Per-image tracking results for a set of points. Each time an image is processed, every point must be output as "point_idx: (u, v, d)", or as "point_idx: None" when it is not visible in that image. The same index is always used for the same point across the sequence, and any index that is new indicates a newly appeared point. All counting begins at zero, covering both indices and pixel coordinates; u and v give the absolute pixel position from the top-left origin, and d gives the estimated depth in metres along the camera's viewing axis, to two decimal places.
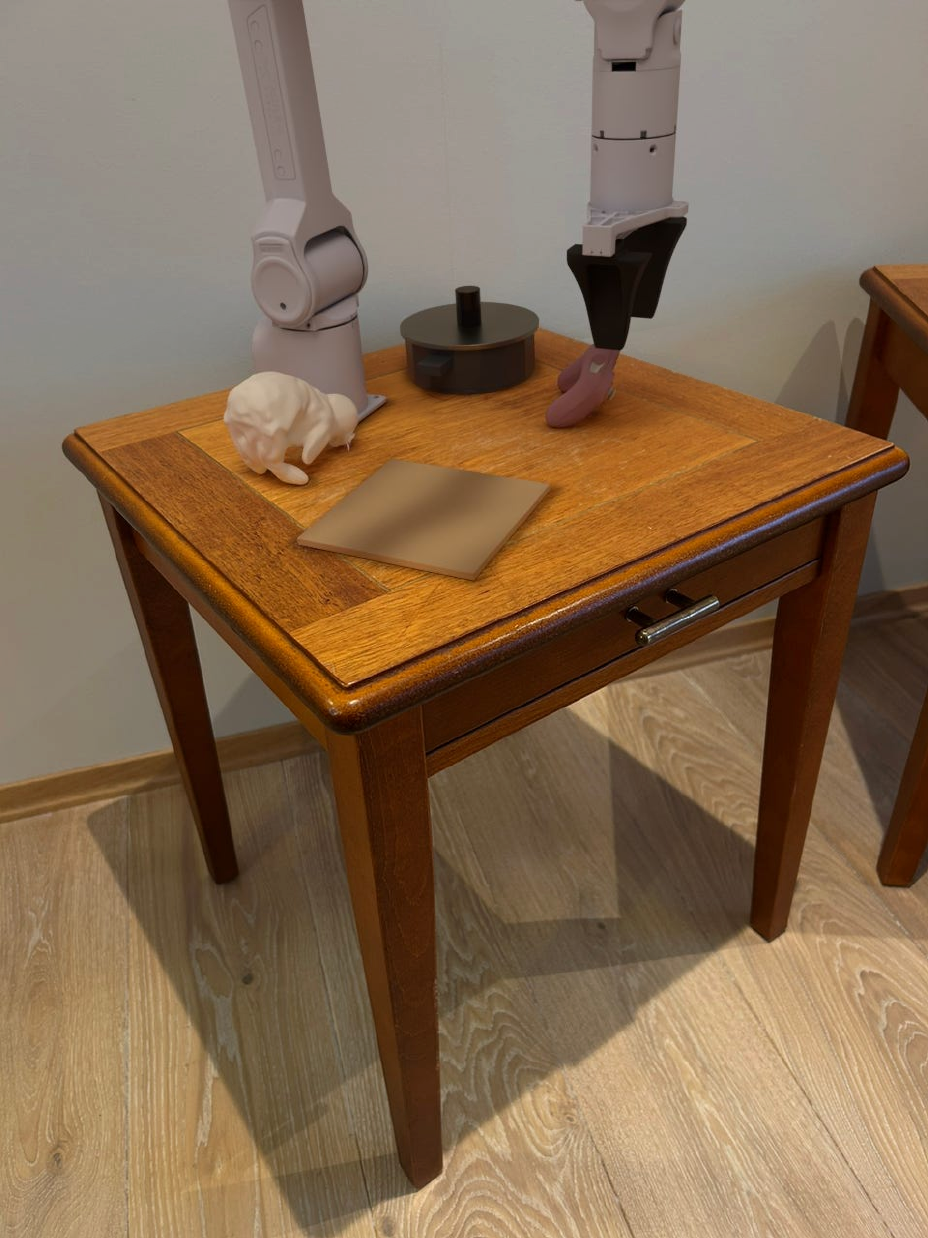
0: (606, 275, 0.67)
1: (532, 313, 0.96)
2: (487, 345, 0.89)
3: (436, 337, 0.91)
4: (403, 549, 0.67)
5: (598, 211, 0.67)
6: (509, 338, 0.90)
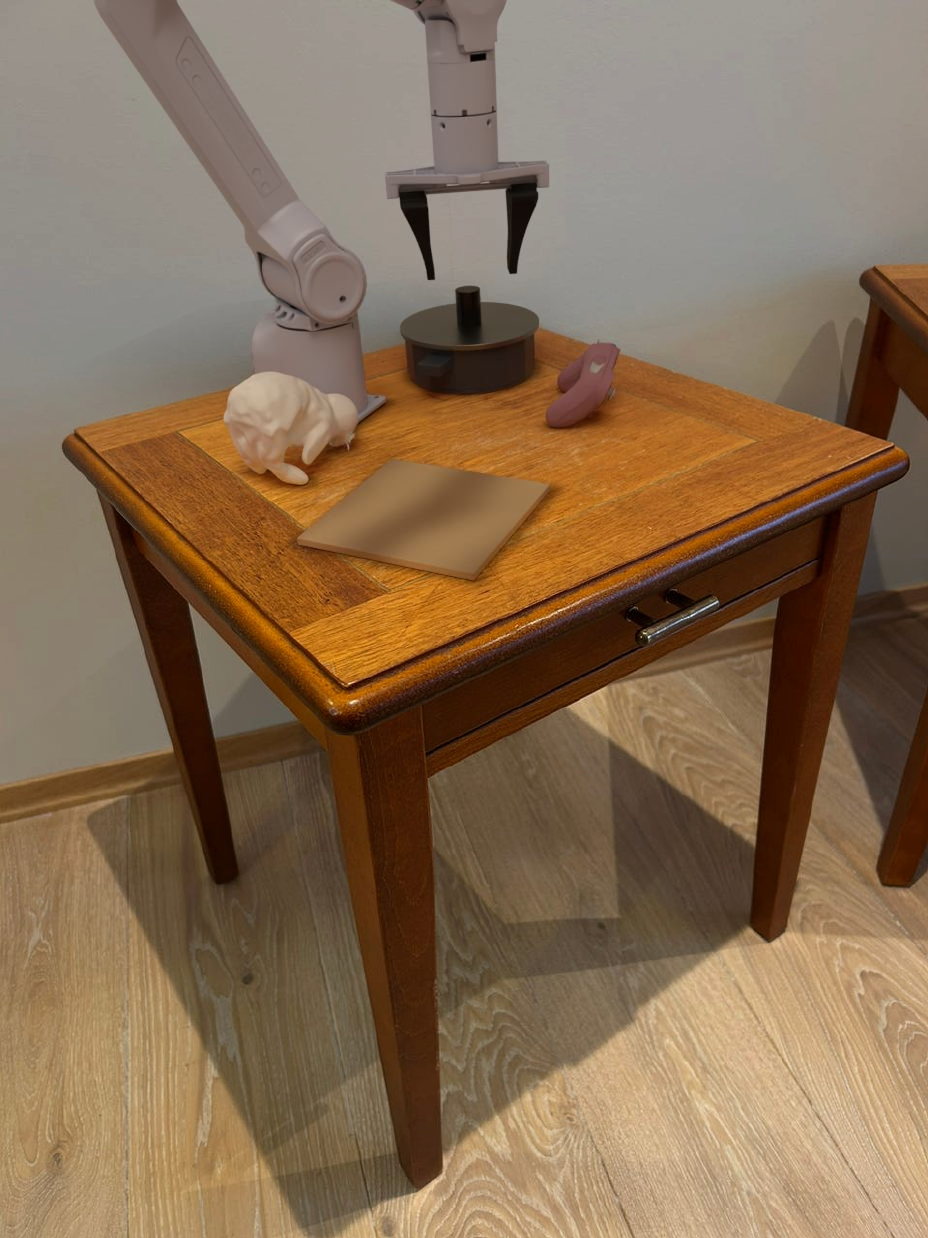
0: None
1: (532, 313, 0.96)
2: (487, 345, 0.89)
3: (436, 337, 0.91)
4: (403, 549, 0.67)
5: None
6: (509, 338, 0.90)
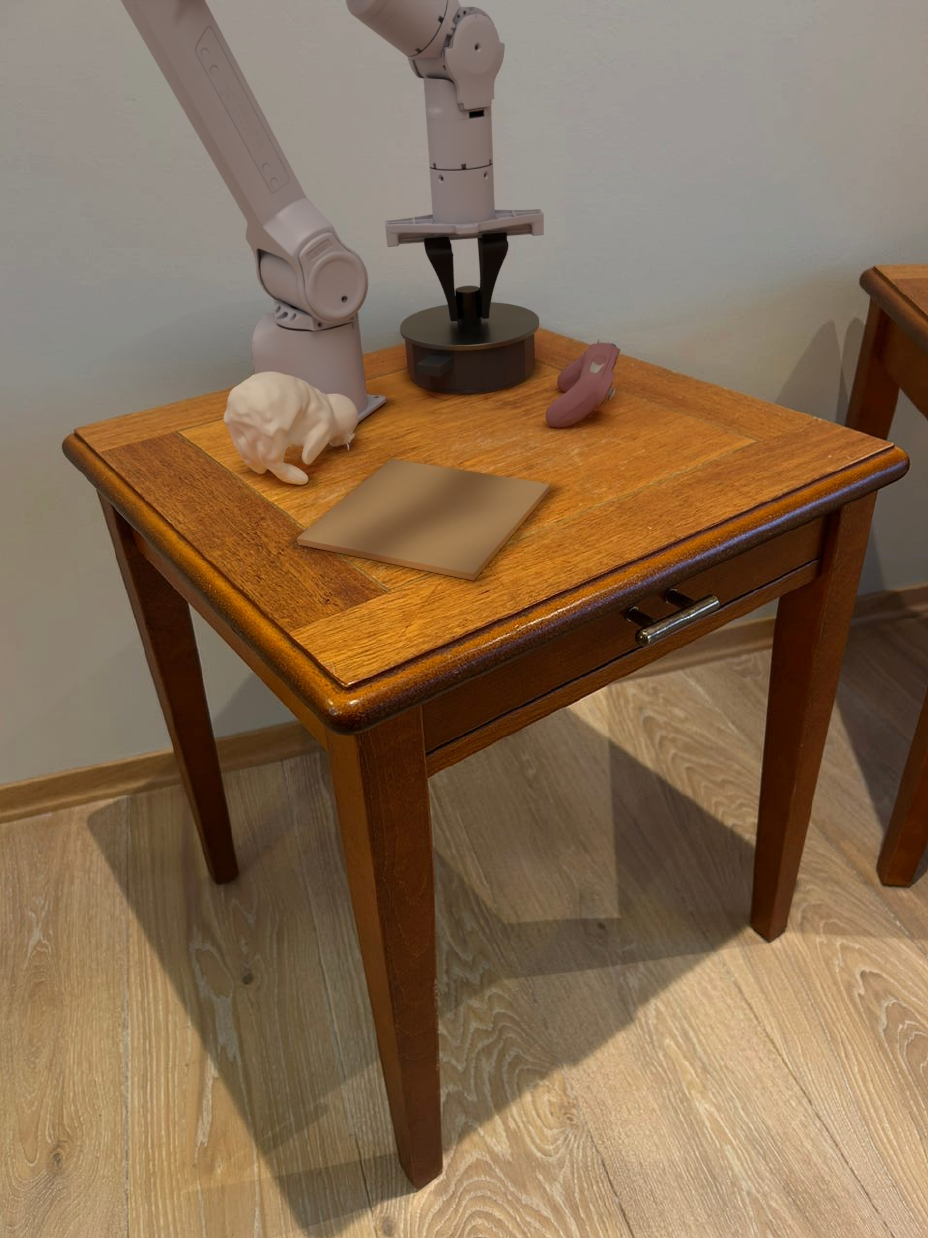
0: None
1: (532, 313, 0.96)
2: (487, 345, 0.89)
3: (436, 337, 0.91)
4: (403, 549, 0.67)
5: None
6: (509, 338, 0.90)
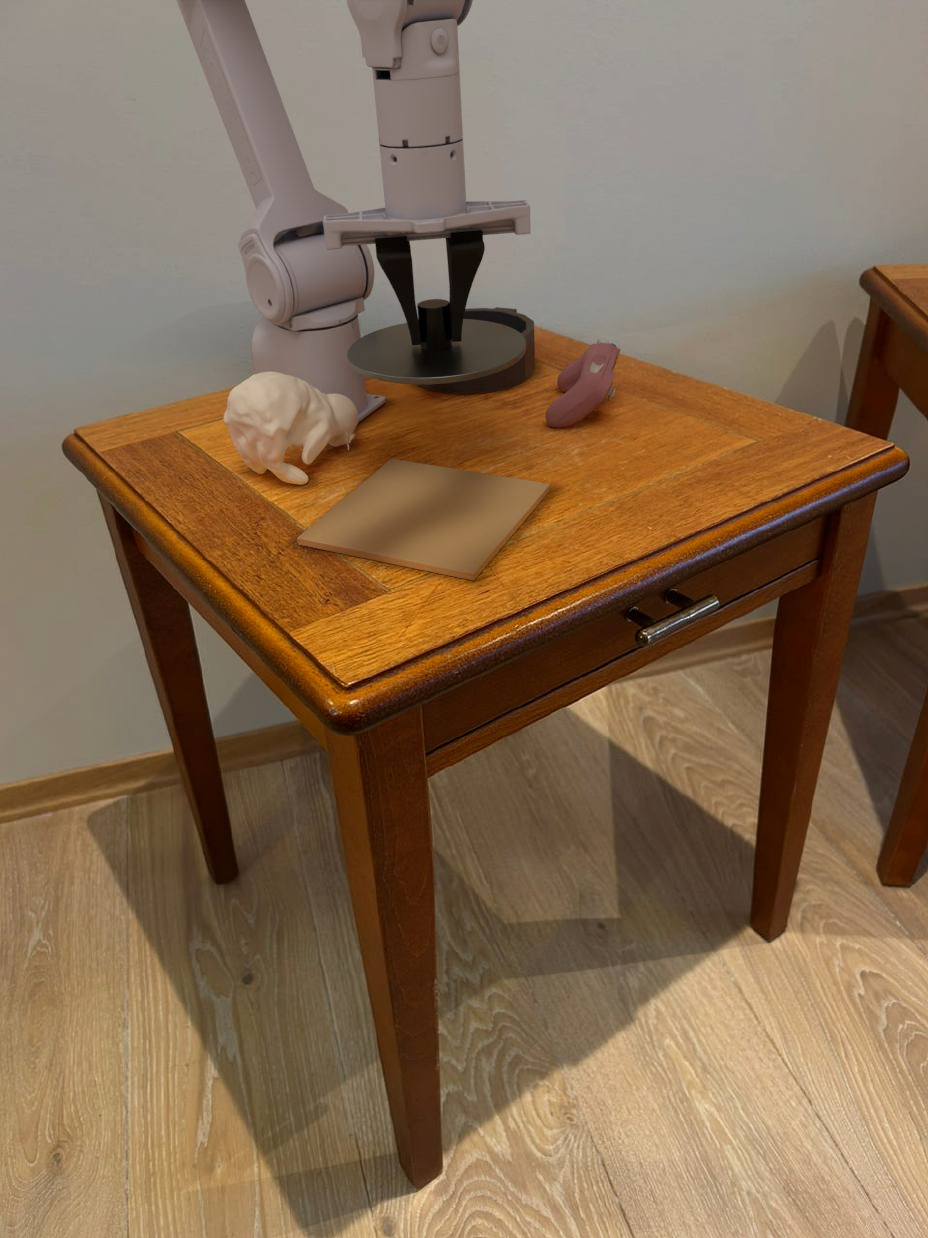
0: None
1: (517, 334, 0.75)
2: (457, 377, 0.68)
3: (392, 366, 0.70)
4: (403, 549, 0.67)
5: None
6: (486, 368, 0.69)
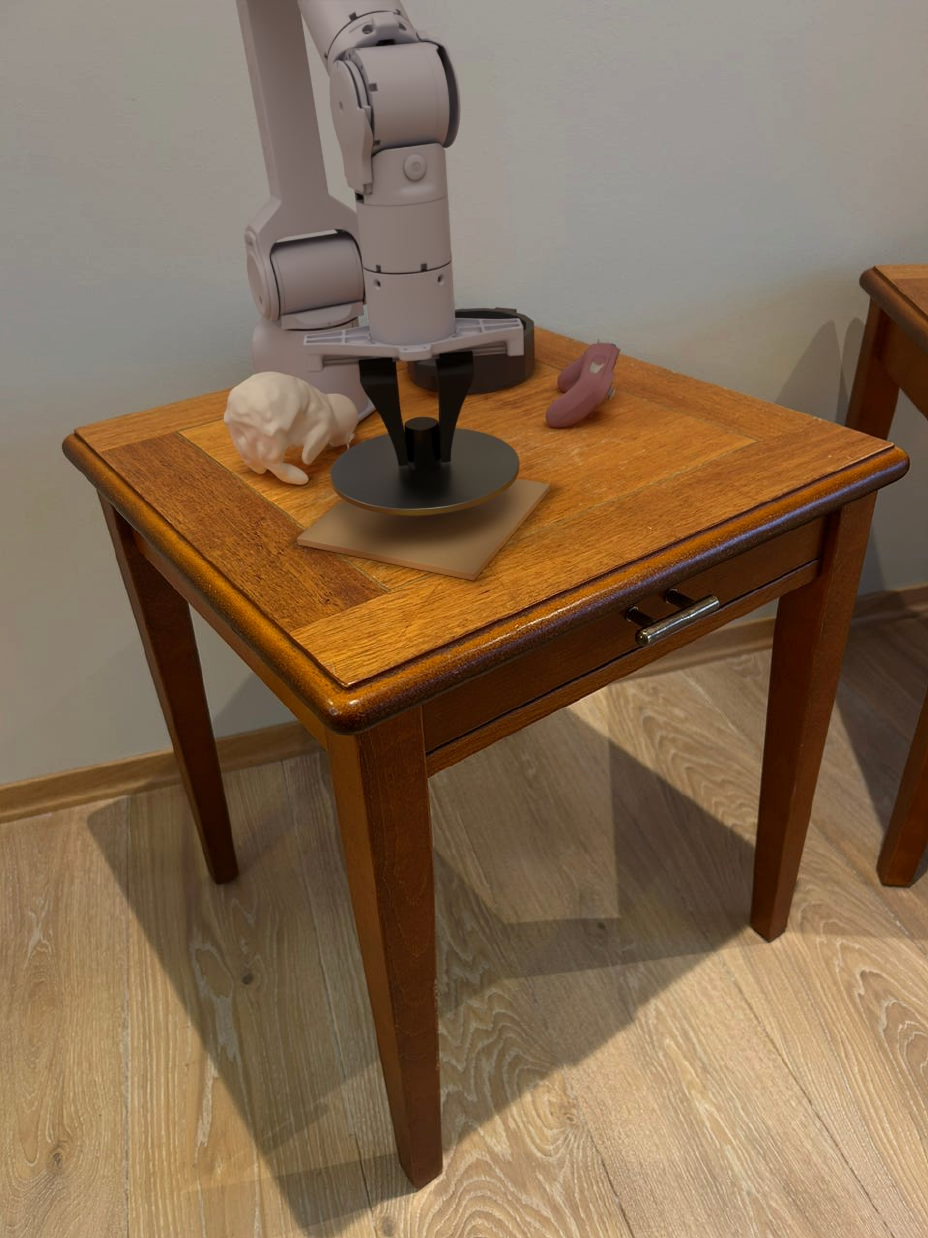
0: None
1: (510, 450, 0.71)
2: (445, 508, 0.64)
3: (377, 491, 0.66)
4: (403, 549, 0.67)
5: None
6: (475, 498, 0.65)
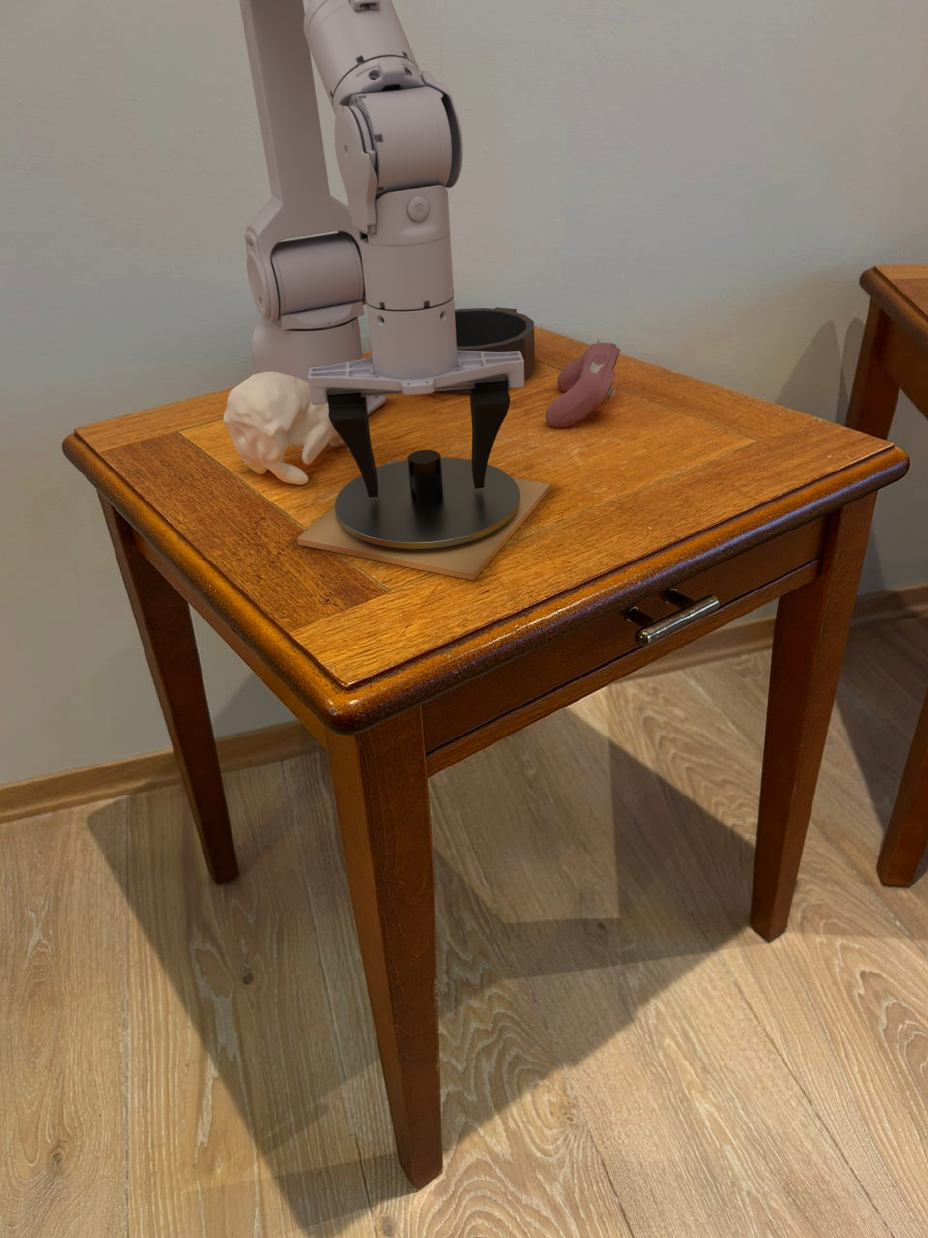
0: None
1: (511, 482, 0.72)
2: (448, 542, 0.66)
3: (380, 524, 0.68)
4: (403, 549, 0.67)
5: None
6: (477, 531, 0.66)
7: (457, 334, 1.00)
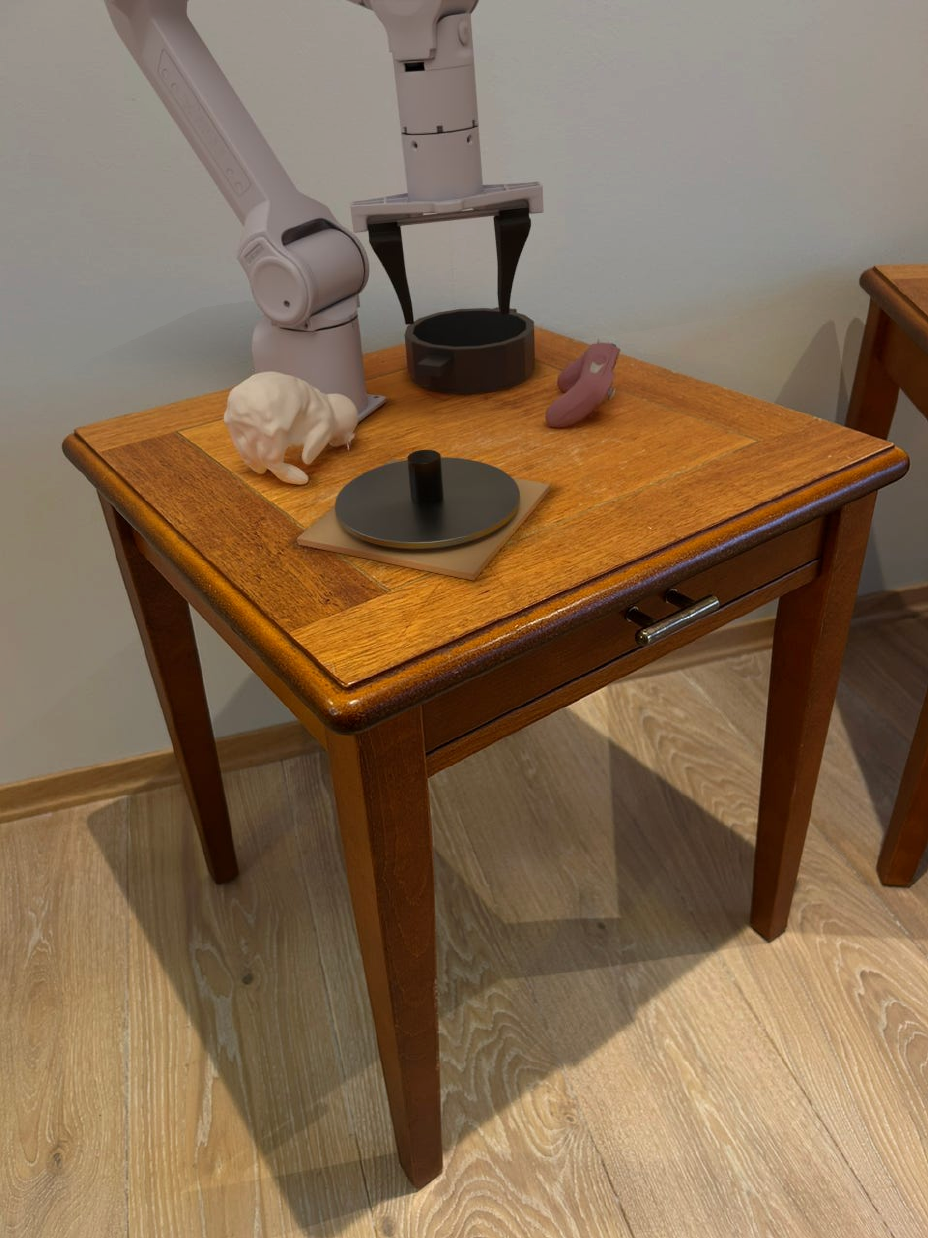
0: None
1: (511, 482, 0.72)
2: (448, 542, 0.66)
3: (380, 524, 0.68)
4: (403, 549, 0.67)
5: None
6: (477, 531, 0.66)
7: (457, 334, 1.00)
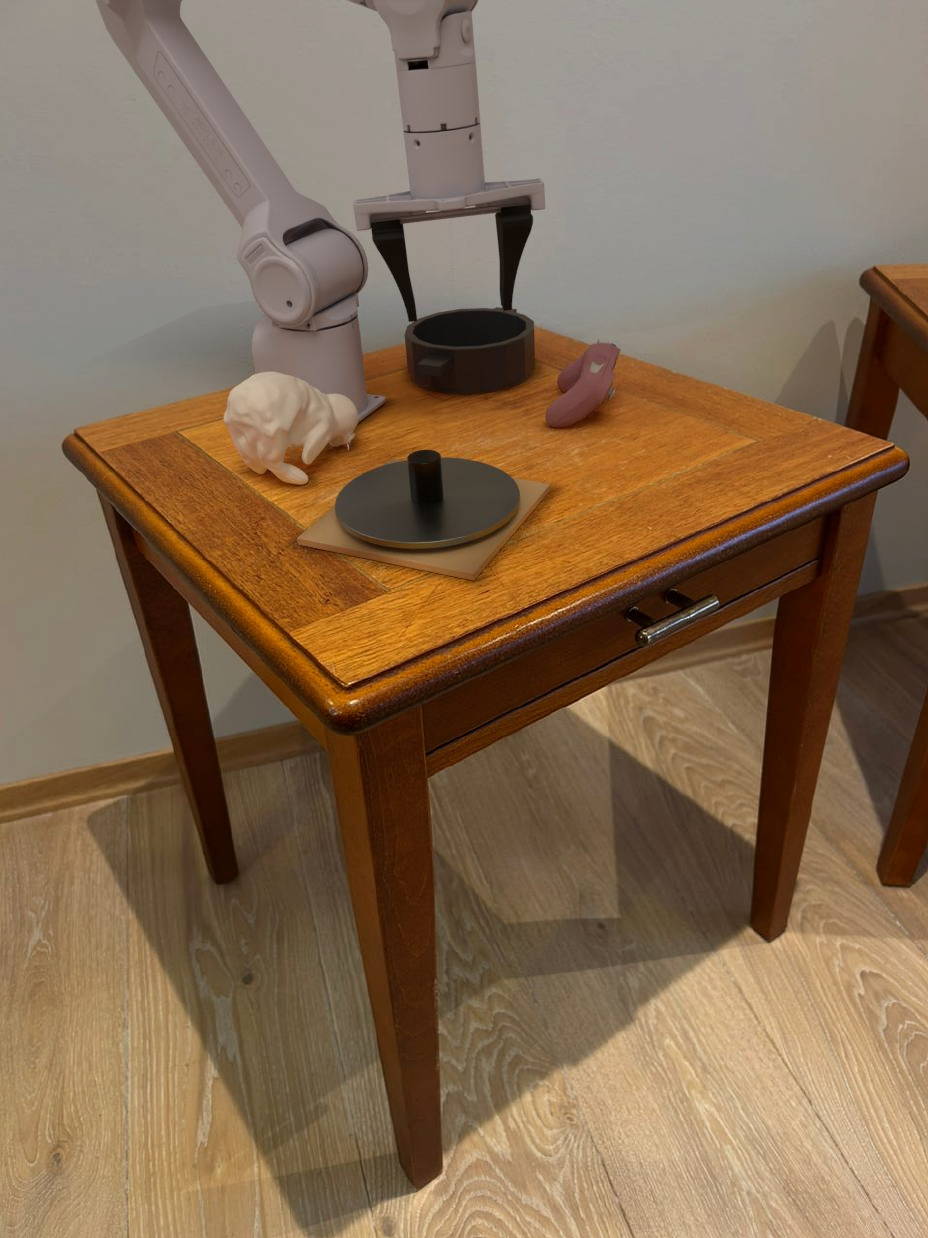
0: None
1: (511, 482, 0.72)
2: (448, 542, 0.66)
3: (380, 524, 0.68)
4: (403, 549, 0.67)
5: None
6: (477, 531, 0.66)
7: (457, 334, 1.00)
